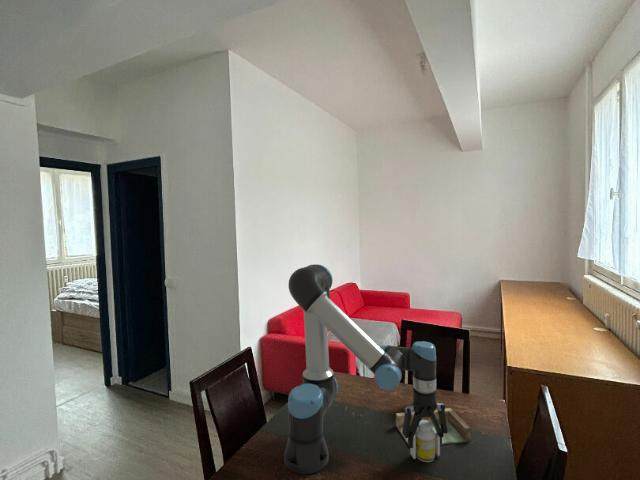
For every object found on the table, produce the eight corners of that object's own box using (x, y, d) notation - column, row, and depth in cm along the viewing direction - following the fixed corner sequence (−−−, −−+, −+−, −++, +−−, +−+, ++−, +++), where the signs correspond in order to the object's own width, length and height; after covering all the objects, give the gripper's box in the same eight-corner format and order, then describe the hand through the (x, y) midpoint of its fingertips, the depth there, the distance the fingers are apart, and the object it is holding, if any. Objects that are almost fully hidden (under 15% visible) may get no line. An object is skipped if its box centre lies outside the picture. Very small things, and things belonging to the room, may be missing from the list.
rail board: (410, 448, 121) (410, 434, 121) (396, 425, 135) (395, 413, 135) (470, 441, 124) (470, 427, 124) (450, 420, 138) (450, 407, 138)
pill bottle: (417, 448, 121) (417, 416, 120) (436, 454, 118) (436, 420, 117) (413, 459, 115) (412, 425, 115) (433, 465, 112) (432, 431, 112)
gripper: (399, 397, 110) (400, 465, 111) (459, 391, 113) (459, 458, 114) (391, 386, 118) (391, 451, 119) (447, 381, 121) (447, 444, 122)
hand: (425, 454), depth 116 cm, fingers open, 8 cm apart
